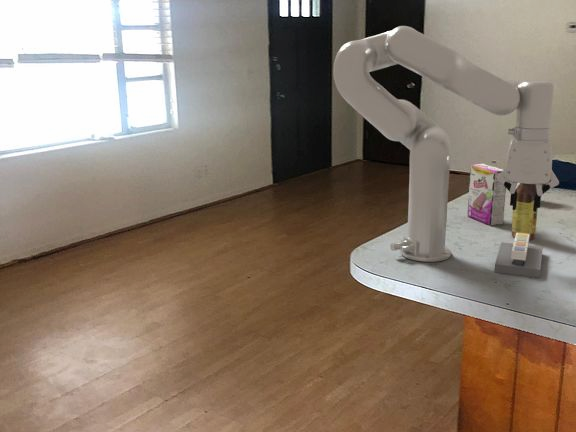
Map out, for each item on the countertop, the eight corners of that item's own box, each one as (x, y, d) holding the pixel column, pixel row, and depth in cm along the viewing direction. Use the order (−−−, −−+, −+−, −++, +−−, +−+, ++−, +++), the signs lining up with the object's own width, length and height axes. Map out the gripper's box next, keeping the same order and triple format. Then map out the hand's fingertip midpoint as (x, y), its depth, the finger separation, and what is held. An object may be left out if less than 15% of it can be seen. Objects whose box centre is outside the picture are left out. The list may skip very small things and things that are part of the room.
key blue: (524, 266, 144) (526, 251, 142) (510, 265, 145) (511, 249, 144) (525, 262, 146) (527, 247, 145) (511, 260, 148) (512, 245, 147)
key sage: (526, 256, 150) (528, 241, 149) (512, 254, 151) (514, 240, 150) (527, 252, 153) (528, 237, 152) (513, 250, 154) (515, 236, 153)
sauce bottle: (536, 241, 166) (544, 169, 161) (512, 240, 167) (519, 168, 162) (532, 233, 172) (539, 164, 167) (509, 232, 174) (515, 163, 168)
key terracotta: (525, 261, 147) (527, 246, 146) (511, 259, 148) (513, 244, 147) (526, 257, 150) (528, 242, 149) (512, 255, 151) (514, 240, 150)
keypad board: (539, 277, 142) (540, 269, 141) (494, 272, 146) (494, 264, 145) (542, 254, 157) (542, 246, 156) (500, 249, 160) (501, 242, 160)
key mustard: (527, 251, 154) (528, 236, 152) (514, 249, 155) (515, 235, 154) (528, 247, 156) (529, 233, 155) (514, 245, 158) (516, 231, 157)
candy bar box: (466, 216, 189) (469, 164, 185) (479, 214, 191) (483, 163, 187) (490, 226, 179) (494, 171, 175) (503, 224, 181) (508, 170, 177)
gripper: (492, 135, 144) (486, 210, 149) (570, 138, 137) (562, 217, 143) (495, 130, 150) (490, 202, 156) (570, 133, 144) (562, 208, 149)
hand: (524, 208), depth 149 cm, fingers open, 4 cm apart
